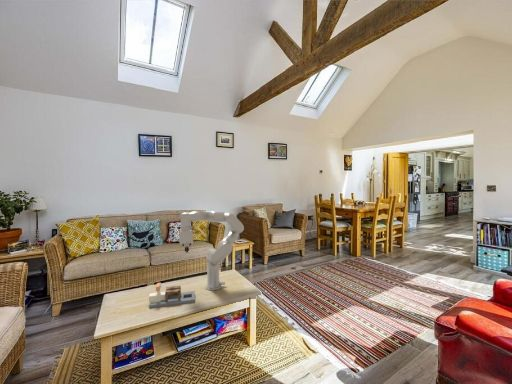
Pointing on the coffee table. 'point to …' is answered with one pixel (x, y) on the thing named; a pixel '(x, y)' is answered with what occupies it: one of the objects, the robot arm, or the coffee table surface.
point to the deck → (175, 300)
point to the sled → (157, 294)
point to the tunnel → (172, 292)
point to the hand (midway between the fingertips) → (186, 252)
